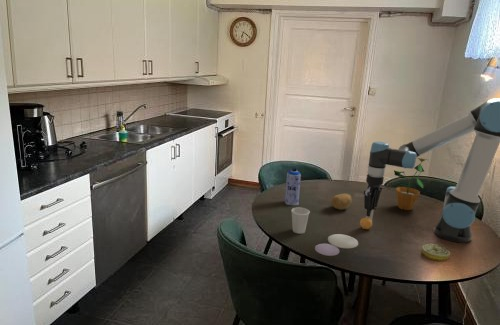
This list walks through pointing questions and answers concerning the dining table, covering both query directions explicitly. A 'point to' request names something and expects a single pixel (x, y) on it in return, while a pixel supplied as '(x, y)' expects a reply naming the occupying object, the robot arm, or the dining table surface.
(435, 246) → the decorated donut
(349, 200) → the potato
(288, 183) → the aerosol can
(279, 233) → the dining table surface
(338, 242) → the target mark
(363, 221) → the ball
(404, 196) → the potted plant
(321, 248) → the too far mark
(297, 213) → the dixie cup
